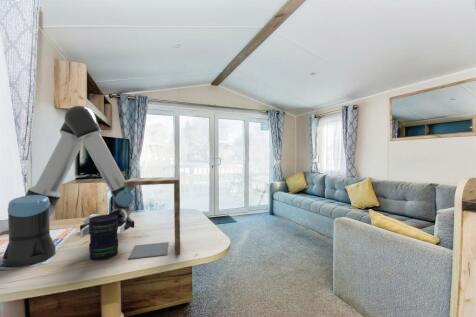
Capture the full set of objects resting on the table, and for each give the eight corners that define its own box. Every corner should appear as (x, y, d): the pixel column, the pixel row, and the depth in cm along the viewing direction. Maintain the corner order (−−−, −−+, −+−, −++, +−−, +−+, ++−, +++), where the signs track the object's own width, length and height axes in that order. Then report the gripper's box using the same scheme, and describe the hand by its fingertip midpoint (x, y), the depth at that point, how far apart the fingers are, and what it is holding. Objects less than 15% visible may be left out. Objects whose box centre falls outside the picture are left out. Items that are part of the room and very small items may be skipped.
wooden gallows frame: (125, 260, 85) (124, 181, 85) (132, 246, 99) (131, 178, 98) (180, 254, 90) (179, 179, 90) (180, 241, 104) (179, 176, 103)
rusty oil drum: (83, 261, 84) (82, 221, 84) (97, 250, 94) (97, 214, 94) (111, 260, 85) (110, 220, 85) (122, 249, 95) (122, 214, 95)
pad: (128, 259, 86) (128, 258, 86) (134, 246, 98) (134, 245, 98) (167, 255, 89) (166, 254, 89) (168, 242, 102) (168, 242, 102)
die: (86, 228, 125) (78, 217, 119) (102, 218, 130) (94, 207, 124) (92, 237, 121) (84, 226, 115) (108, 226, 126) (101, 215, 120)
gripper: (144, 223, 111) (137, 238, 90) (86, 228, 104) (64, 245, 84) (144, 208, 111) (137, 220, 90) (86, 211, 104) (63, 225, 84)
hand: (101, 232), depth 87 cm, fingers open, 13 cm apart
